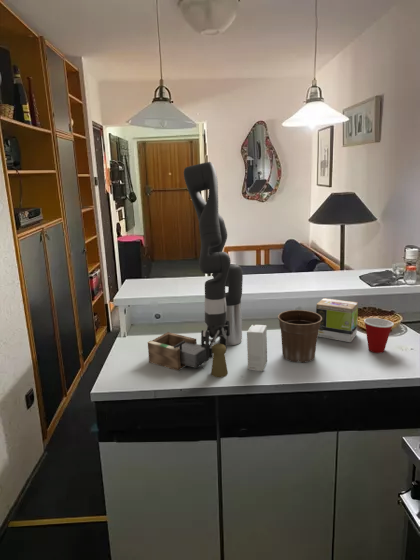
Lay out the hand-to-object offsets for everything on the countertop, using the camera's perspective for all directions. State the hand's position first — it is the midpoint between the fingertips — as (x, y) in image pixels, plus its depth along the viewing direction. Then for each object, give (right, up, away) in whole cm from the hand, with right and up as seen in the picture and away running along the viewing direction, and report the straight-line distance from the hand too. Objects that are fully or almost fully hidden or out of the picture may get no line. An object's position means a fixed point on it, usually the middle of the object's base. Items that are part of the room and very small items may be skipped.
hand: (216, 353), depth 151 cm
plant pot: (+32, -4, +14) cm, 35 cm away
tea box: (+51, +2, +31) cm, 60 cm away
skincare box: (+15, -6, +7) cm, 18 cm away
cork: (+1, -8, +2) cm, 8 cm away
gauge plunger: (-9, -4, +7) cm, 13 cm away
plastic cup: (+63, -2, +17) cm, 65 cm away
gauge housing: (-16, -5, +14) cm, 22 cm away
